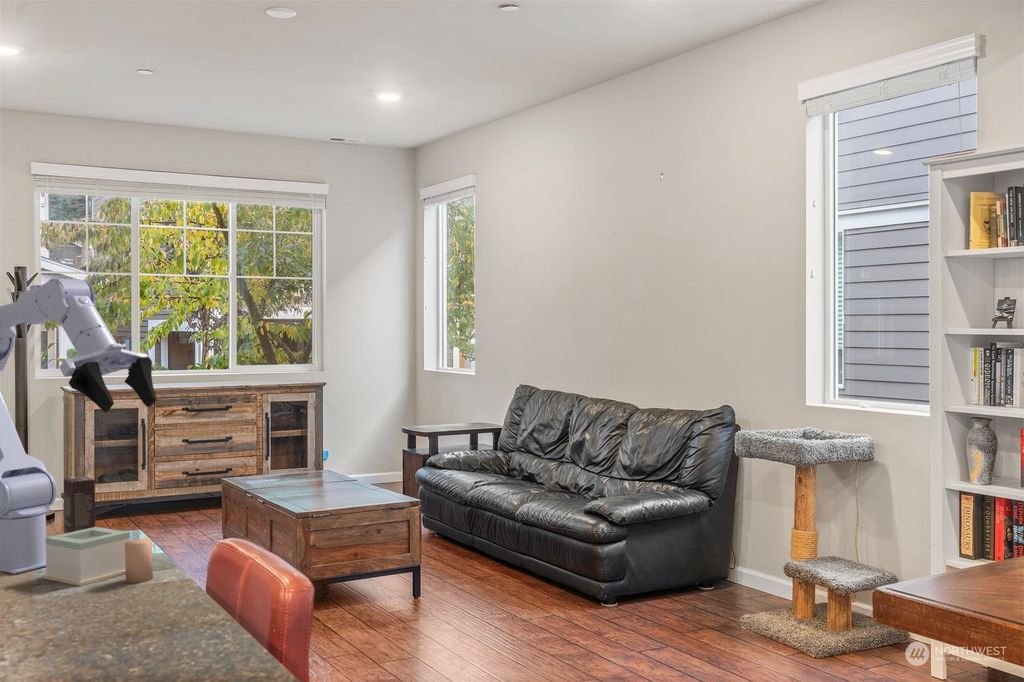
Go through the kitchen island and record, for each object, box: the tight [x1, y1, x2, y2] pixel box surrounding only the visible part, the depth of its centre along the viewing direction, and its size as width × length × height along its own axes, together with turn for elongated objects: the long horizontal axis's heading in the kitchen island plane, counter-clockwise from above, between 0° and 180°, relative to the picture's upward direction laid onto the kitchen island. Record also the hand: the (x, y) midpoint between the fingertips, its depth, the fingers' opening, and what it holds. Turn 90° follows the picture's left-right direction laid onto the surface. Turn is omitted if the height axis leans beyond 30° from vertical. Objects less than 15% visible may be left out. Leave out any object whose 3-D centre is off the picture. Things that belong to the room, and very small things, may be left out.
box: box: [63, 476, 96, 534], centre depth 177 cm, size 6×4×12 cm
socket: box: [41, 526, 131, 587], centre depth 153 cm, size 10×10×6 cm
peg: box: [125, 538, 154, 584], centre depth 150 cm, size 4×4×6 cm
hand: (131, 405), depth 145 cm, fingers open, 7 cm apart
